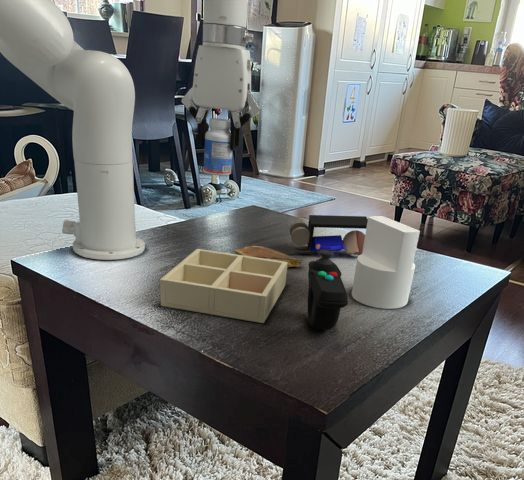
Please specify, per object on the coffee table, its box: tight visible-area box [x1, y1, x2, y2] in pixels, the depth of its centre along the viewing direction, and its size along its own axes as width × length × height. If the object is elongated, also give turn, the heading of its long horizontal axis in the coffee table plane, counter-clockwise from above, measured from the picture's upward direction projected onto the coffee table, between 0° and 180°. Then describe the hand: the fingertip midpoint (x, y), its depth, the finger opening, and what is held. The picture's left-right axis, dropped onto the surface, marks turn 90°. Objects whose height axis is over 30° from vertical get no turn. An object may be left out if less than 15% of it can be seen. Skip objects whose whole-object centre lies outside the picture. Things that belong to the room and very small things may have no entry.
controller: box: [307, 250, 349, 331], centre depth 72 cm, size 4×12×10 cm, turn 3°
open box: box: [159, 248, 288, 324], centre depth 81 cm, size 15×15×4 cm
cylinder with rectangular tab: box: [351, 215, 421, 310], centre depth 83 cm, size 9×9×12 cm
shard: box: [234, 245, 303, 268], centre depth 96 cm, size 11×8×2 cm
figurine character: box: [289, 214, 368, 257], centre depth 103 cm, size 7×8×15 cm
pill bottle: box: [203, 117, 233, 177], centre depth 102 cm, size 6×5×10 cm
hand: (218, 146), depth 102 cm, fingers closed on pill bottle, 5 cm apart
